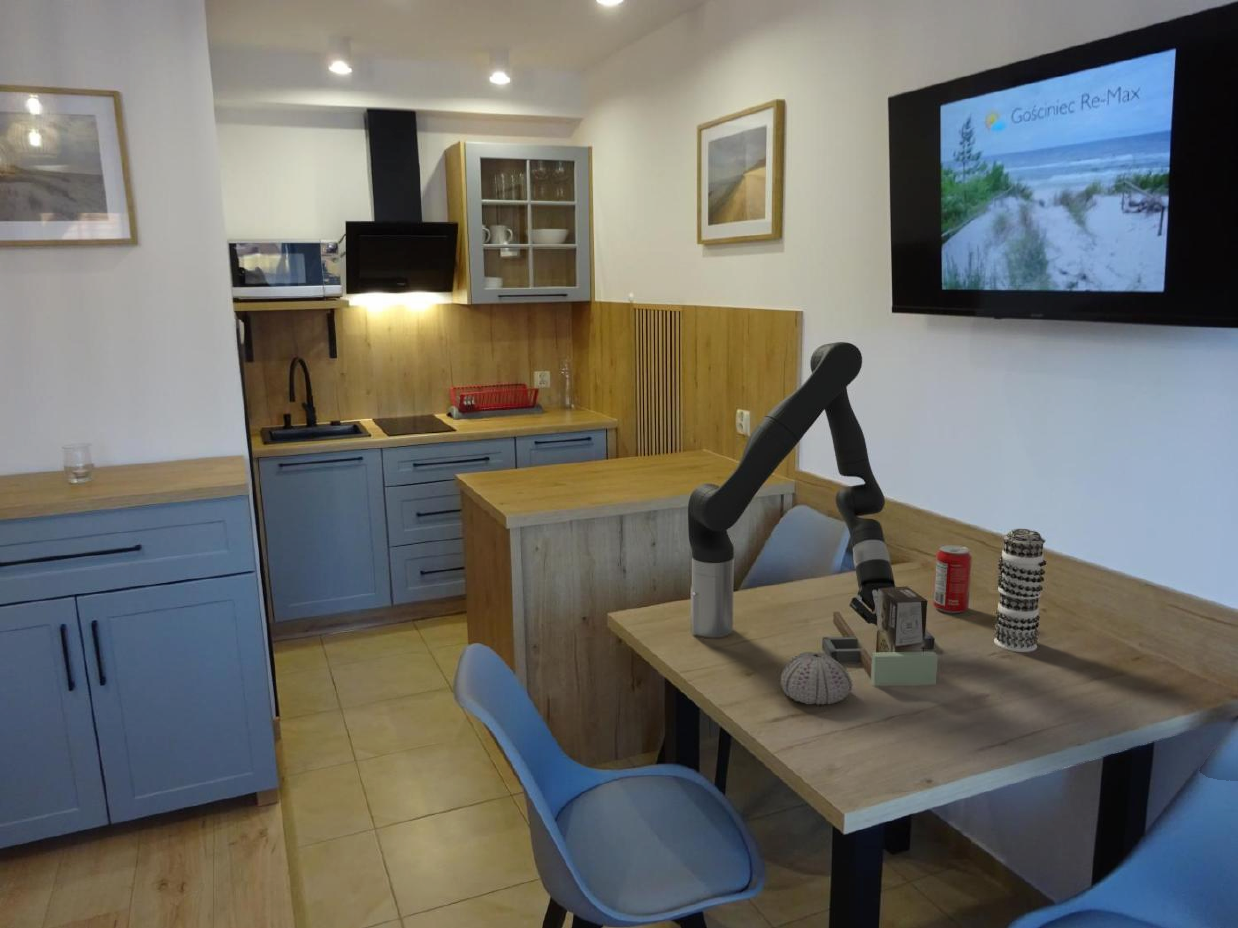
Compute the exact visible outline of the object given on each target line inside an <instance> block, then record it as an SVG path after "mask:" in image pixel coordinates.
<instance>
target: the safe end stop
mask: <svg viewBox="0 0 1238 928" xmlns="http://www.w3.org/2000/svg"><path fill="white" fill-rule="evenodd" d="M871 658H872V667H871V678H870V682H871V684H872V685H873V686H874V687H879V686H881V687H882V686H883V687H884V686H887V687H888V686H936V685H937V673H938V671H937V670H938V655H937V652H935V651H924V652H876V651H875V652H874V651H872V652H871Z"/></svg>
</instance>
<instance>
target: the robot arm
mask: <svg viewBox="0 0 1238 928" xmlns="http://www.w3.org/2000/svg"><path fill="white" fill-rule="evenodd" d="M809 363H810V364H809V365H810V366H809V367H810V371H811V374H810V375H809V377H808V378H807V379H806V380H805V381H804V382H803V383H802V384H801V386H799V387H798V388H797V389H796V390H795V391H793V392H792V393H791V394H789V395H788V396H787V397H785V398H784V399H783V400H781V401H780V402H779V403H777V404H776V405H775V406H774V407H773V408H772V409H771V410H770V411H768V412H767V414H765V416H764V417H763V418H762V420H761V421H760V422H759V423H758V424H757V425H756V426H755V428H754V429H753V431H752V432H751V433H750V436H749V437H748V439H747V442H746V444H745V447H744V450H743V453H742V455H741V456H742V457H741V458H740V461H739V463H738V465H737V467H736V468H735V469H734V471H733V472H732V473H731V475H729V477H728V478H727V479H726V480H725V481H724V482H723V483H722V484H721V485H720V486H719V485H717V484H713V483H703V484H700V485H698V486H697V487H695V489H694V490H693V491H692V493H691V494H690V496H689V500H688V505H687V528H688V529H687V530H688V540H689V545H690V549H691V586H690V629H691V633H692V634H691V635H692V636H699V637H703V638H711V639H712V638H713V639H714V638H724V637H728V636H729V635H731V634H733V631H734V629H733V626H734V577H735V576H734V572H735V571H734V570H735V568H734V567H735V566H734V565H735V563H734V562H735V561H734V560H735V559H734V558H735V551H734V550H735V548H734V545H733V543H732V541H731V539H730V537H729V534H728V533H729V532H728V529H731V528H732V527H733V526H734V525H735V524H737V522H738V521H739V519H740V518H741V517H742V515H743V514H744V513H745V511H746V509H747V508H748V506H749V504H750V503H751V502H752V500H753V499H754V498H755V496H756V495H757V493H758V492H759V490H760V489H761V487H762V486H763V485H764V484H765V482H766V481H767V480H768V479H769V478H770V477H771V475H772V474H773V473H774V472H775V470H776V469H777V468H778V467H779V465H780V464H781V463H783V461H784V460H785V459H786V457H787V456H788V455H789V454H790V453H791V452H792V451H793V450H794V448H795V447H796V446H797V444H799V442H800V441H801V440H802V438H803V437H804V435H805V434H806V433H807V432H808V431H809V430H810V429H811V428H812V426H813V425H814V423H815V422H816V421H817V420H818V418H819V417H820V416H821V415H822V414H823V412H824V411H825V416H826V419H827V422H828V426H829V430H830V436H831V439H832V444H833V450H834V455H835V460H836V466H837V470H838V474H839V475H841V477H847V478H850V477H851V478H852V477H853V478H859V479H862V481H863V482H864V483H863V484H862V483H861V484H854V485H850V486H844V487H841V488H840V489H838V491H837V492H836V494H835V504H836V508H837V510H838V512H839V514H840V515H841V517H842V519H843V521H844V523H845V525H846V527H847V530H848V532H849V537H850V540H851V542H850V543H851V546H852V554H853V555H852V557H853V567H854V569H855V575H856V580H857V586H858V591H857V595H856V597H855V596H854V597H852V598H851V601H850V603H849V607H850V608H851V609H853V611H854V612H855V613H857V615H859V616H860V618H862V619H863V620H864V621H865V623H867V624H869V625H870V624H872V625H875V626H876V627H877V613H878V589H879V588H890V587H897V586H896V583H895V578H894V574H893V573H894V572H893V569H892V564H891V558H890V554H889V551H888V548H887V546H886V541H885V536H884V531H883V527H882V524H881V523H880V521H878V520H876V519H873V518H865V517H863V518H862V517H861V516H868V515H875V514H879V513H881V511H883V509H884V507H885V502H886V499H885V496H884V493H883V491H882V489H881V487H880V485H879V484H878V481H877V480H876V477H875V475H874V473H873V470H872V466H871V463H870V460H869V453H868V448H867V443H866V438H865V434H864V432H863V429H862V427H861V425H860V423H859V421H858V419H857V416H856V415H855V413H854V410H853V408H852V405H851V401H850V399H849V394H848V386H849V385H850V384H851V383H852V382H853V381H854V380H855V379H856V378H857V377H858V376H859V374H860V372H861V369H862V364H863V356H862V353H861V350H860V349H859V348H858V347H857V346H856V345H855V344H853V343H851V342H848V341H847V342H845V341H837V342H832V343H831V342H830V343H826V344H822V345H820V346H819V347H817V348H816V349H815V350H814V351H813V353H812V354H811V357H810V362H809Z"/></svg>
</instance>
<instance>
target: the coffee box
mask: <svg viewBox="0 0 1238 928" xmlns="http://www.w3.org/2000/svg"><path fill="white" fill-rule="evenodd" d="M927 612H928V600H927V599H926V598H924V597H923V596H922V595H920V594H919V593H917V592H916V591H914V590H913V589H912V588H911V587H908V586H907V585H906V586H896V587H890V588H879V589H878V613H877V626H876V641H875V644H876V645H875V652H925V650H924V647H925V631H926V629H927V628H926V627H927V617H928V616H927V615H928V614H927Z"/></svg>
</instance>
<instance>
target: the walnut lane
mask: <svg viewBox="0 0 1238 928" xmlns="http://www.w3.org/2000/svg"><path fill="white" fill-rule="evenodd" d="M832 616H833V617H832V618H833V619H832V623H833V624H834V625H835V627H836V629H837V630H838V632H839V633H840V635H841V637H857V635H855V633H854V632H853V629H851V627H850V625H848V623H847V621H846V620H845V618H844V617H843V616H842V614H841V613H840V612H839V611H833V615H832ZM859 663H860V665H861V667H862V669H864V671H865V672H866V674H867V676H868V677H869V679H871V667H872V656H871V655H870V654H869V653H868V651H867V650H866V651H860V662H859Z"/></svg>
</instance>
